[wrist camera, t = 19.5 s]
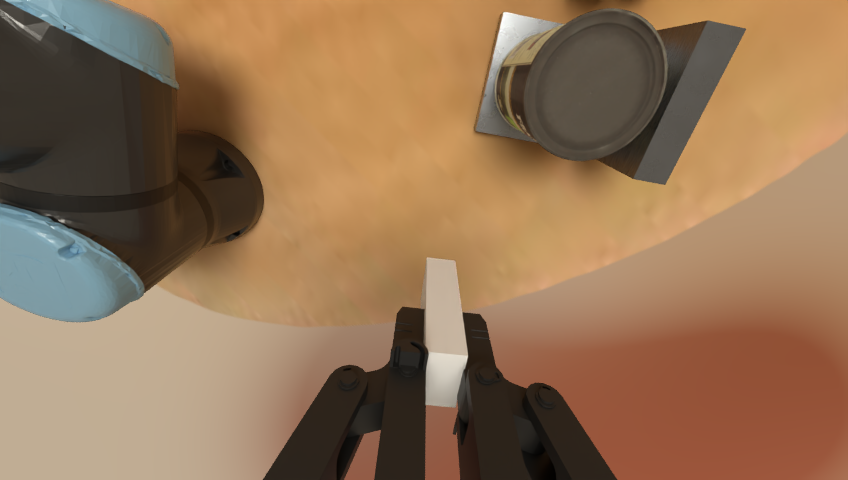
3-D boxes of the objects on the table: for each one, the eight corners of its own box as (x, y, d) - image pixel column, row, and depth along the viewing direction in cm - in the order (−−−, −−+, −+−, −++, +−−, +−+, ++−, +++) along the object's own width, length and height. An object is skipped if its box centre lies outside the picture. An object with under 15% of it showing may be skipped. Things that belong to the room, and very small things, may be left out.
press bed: (473, 128, 41) (490, 152, 29) (500, 14, 36) (534, -17, 24) (596, 151, 42) (665, 184, 30) (640, 43, 37) (746, 28, 24)
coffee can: (551, 148, 40) (604, 182, 28) (477, 108, 38) (498, 125, 26) (608, 61, 36) (701, 54, 23) (527, 11, 34) (582, -25, 22)
